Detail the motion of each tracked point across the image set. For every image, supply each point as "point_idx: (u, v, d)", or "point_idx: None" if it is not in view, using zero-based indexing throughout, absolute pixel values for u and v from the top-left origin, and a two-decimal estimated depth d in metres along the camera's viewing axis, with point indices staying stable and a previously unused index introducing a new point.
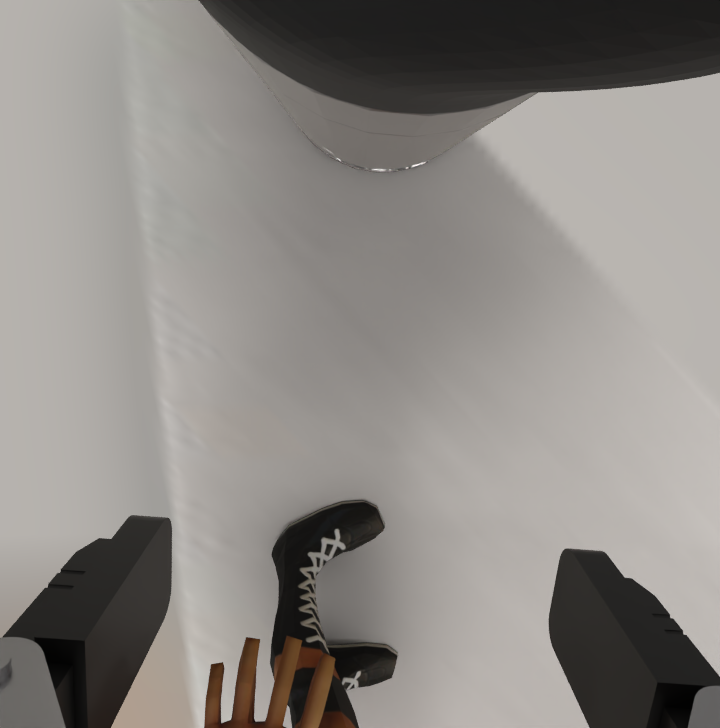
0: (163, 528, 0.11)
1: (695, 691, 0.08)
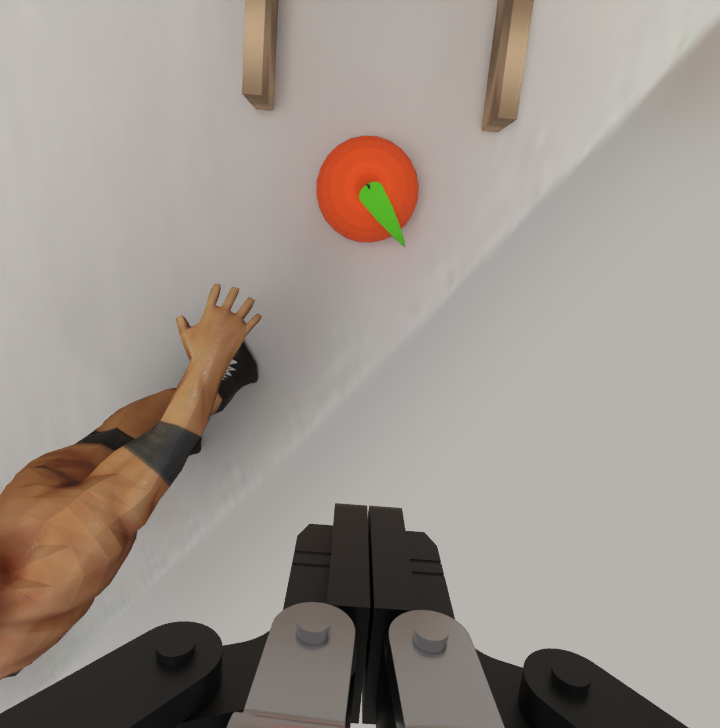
0: None
1: None
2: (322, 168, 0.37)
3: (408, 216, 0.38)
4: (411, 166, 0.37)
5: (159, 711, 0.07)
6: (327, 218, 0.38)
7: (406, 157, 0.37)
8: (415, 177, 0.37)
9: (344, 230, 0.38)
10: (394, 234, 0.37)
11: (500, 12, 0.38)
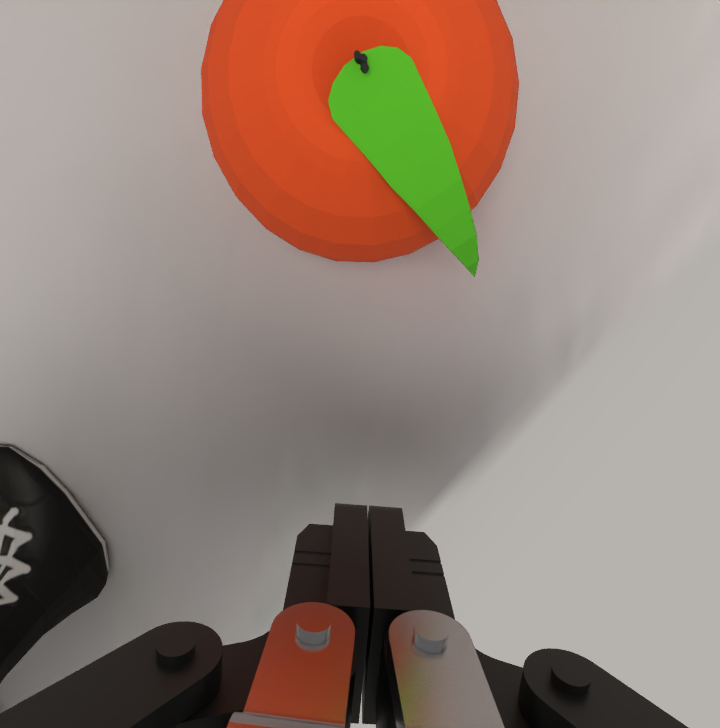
0: (366, 514, 0.12)
1: None
2: (211, 27, 0.11)
3: (487, 182, 0.12)
4: (502, 16, 0.11)
5: (159, 711, 0.07)
6: (236, 192, 0.12)
7: None
8: (513, 54, 0.12)
9: (289, 229, 0.12)
10: (450, 239, 0.11)
11: None
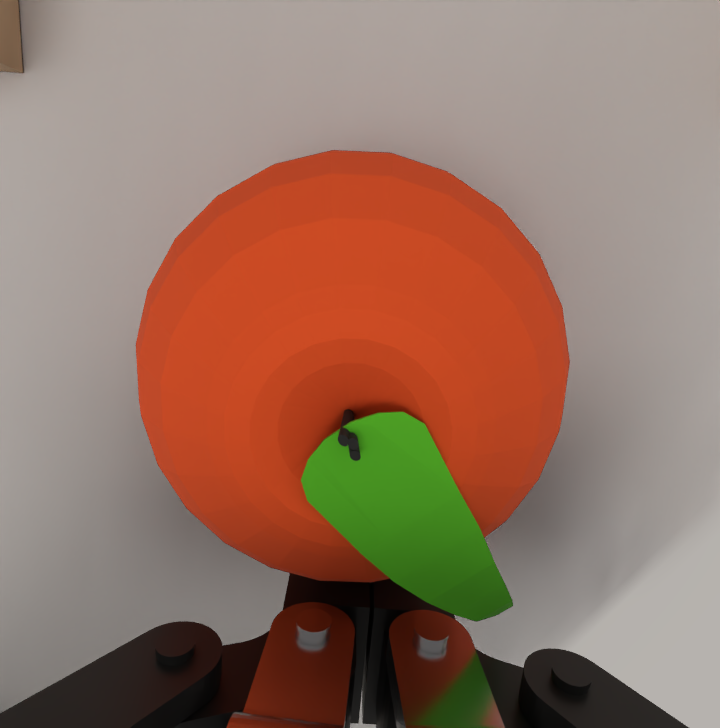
0: None
1: None
2: (146, 301, 0.08)
3: None
4: (550, 290, 0.08)
5: (159, 711, 0.07)
6: None
7: (529, 250, 0.08)
8: (564, 335, 0.08)
9: None
10: (476, 611, 0.08)
11: None
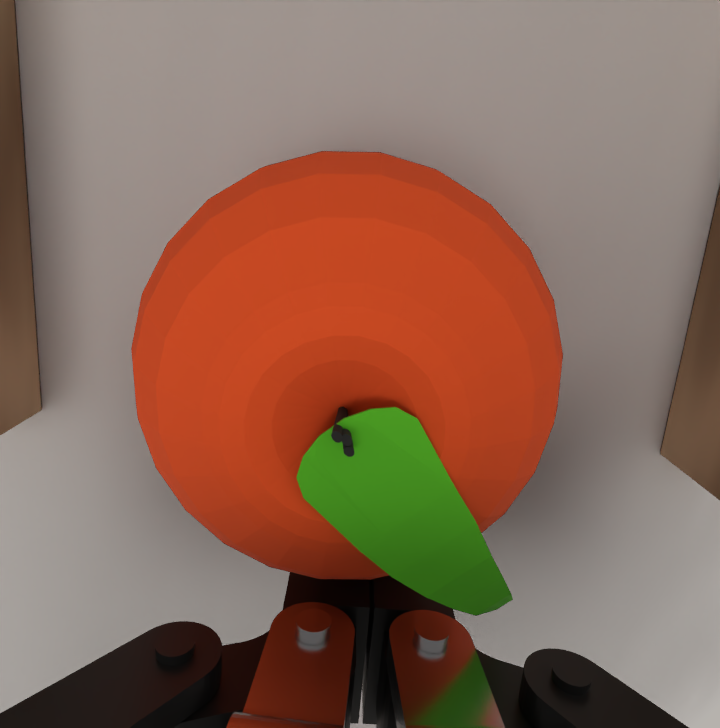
0: None
1: None
2: (141, 305, 0.08)
3: None
4: (541, 284, 0.08)
5: (158, 711, 0.07)
6: None
7: (519, 245, 0.08)
8: (556, 328, 0.08)
9: None
10: (476, 605, 0.08)
11: None
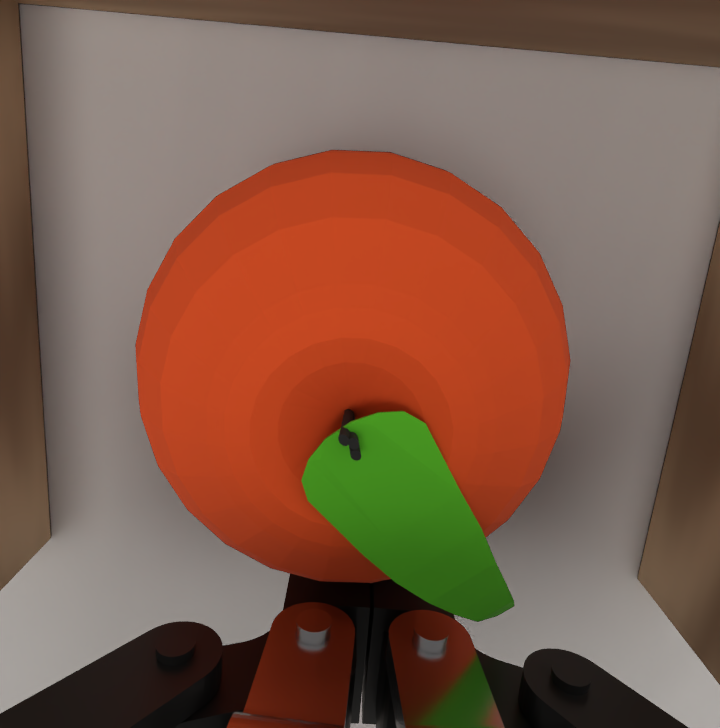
0: None
1: None
2: (146, 301, 0.08)
3: None
4: (551, 289, 0.08)
5: (159, 711, 0.07)
6: None
7: (529, 249, 0.08)
8: (565, 334, 0.08)
9: None
10: (477, 611, 0.08)
11: None
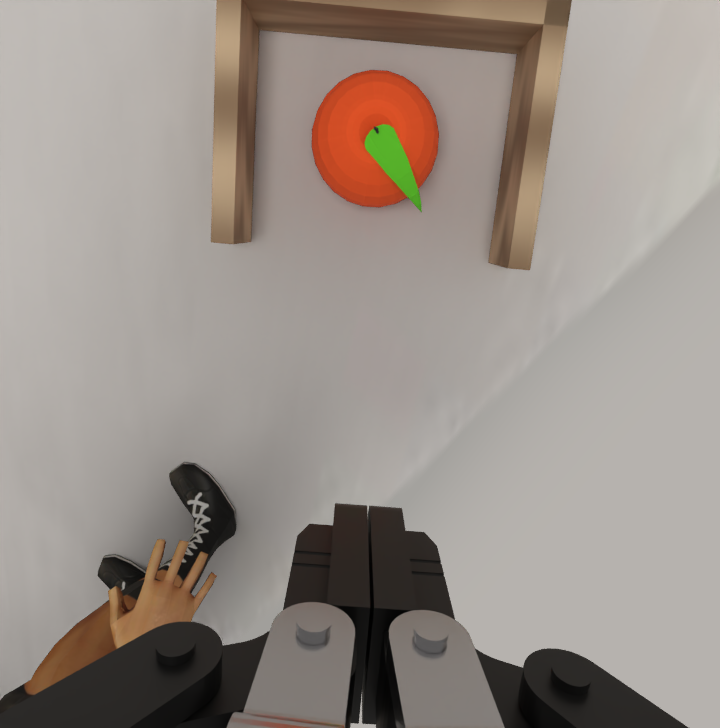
0: None
1: None
2: (318, 111, 0.30)
3: (426, 173, 0.30)
4: (430, 108, 0.29)
5: (159, 711, 0.07)
6: (325, 175, 0.30)
7: (424, 97, 0.29)
8: (435, 123, 0.30)
9: (346, 190, 0.30)
10: (409, 194, 0.29)
11: (510, 138, 0.33)
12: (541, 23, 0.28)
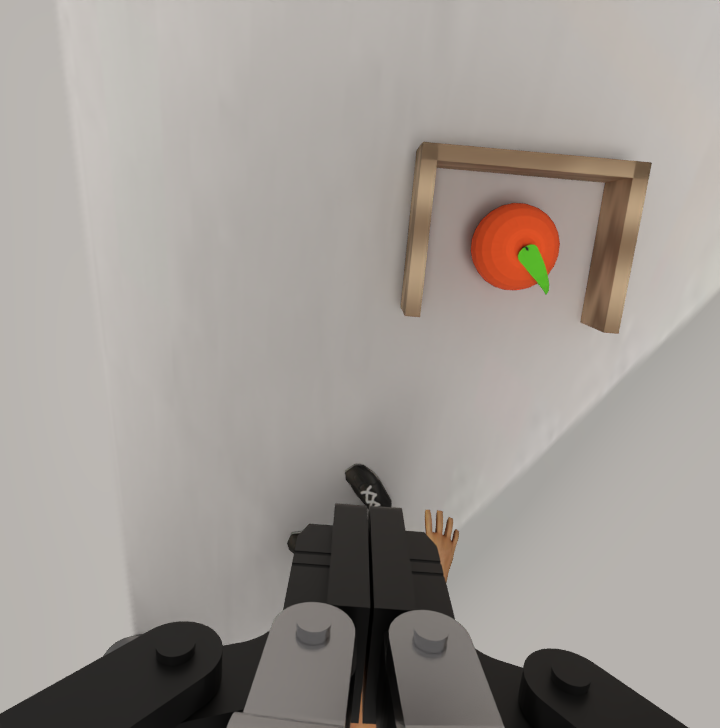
0: (366, 514, 0.12)
1: None
2: (481, 231, 0.45)
3: (550, 270, 0.45)
4: (556, 229, 0.45)
5: (159, 711, 0.07)
6: (482, 271, 0.45)
7: (552, 222, 0.44)
8: (558, 238, 0.45)
9: (498, 282, 0.45)
10: (542, 286, 0.44)
11: (601, 241, 0.48)
12: (631, 177, 0.43)
